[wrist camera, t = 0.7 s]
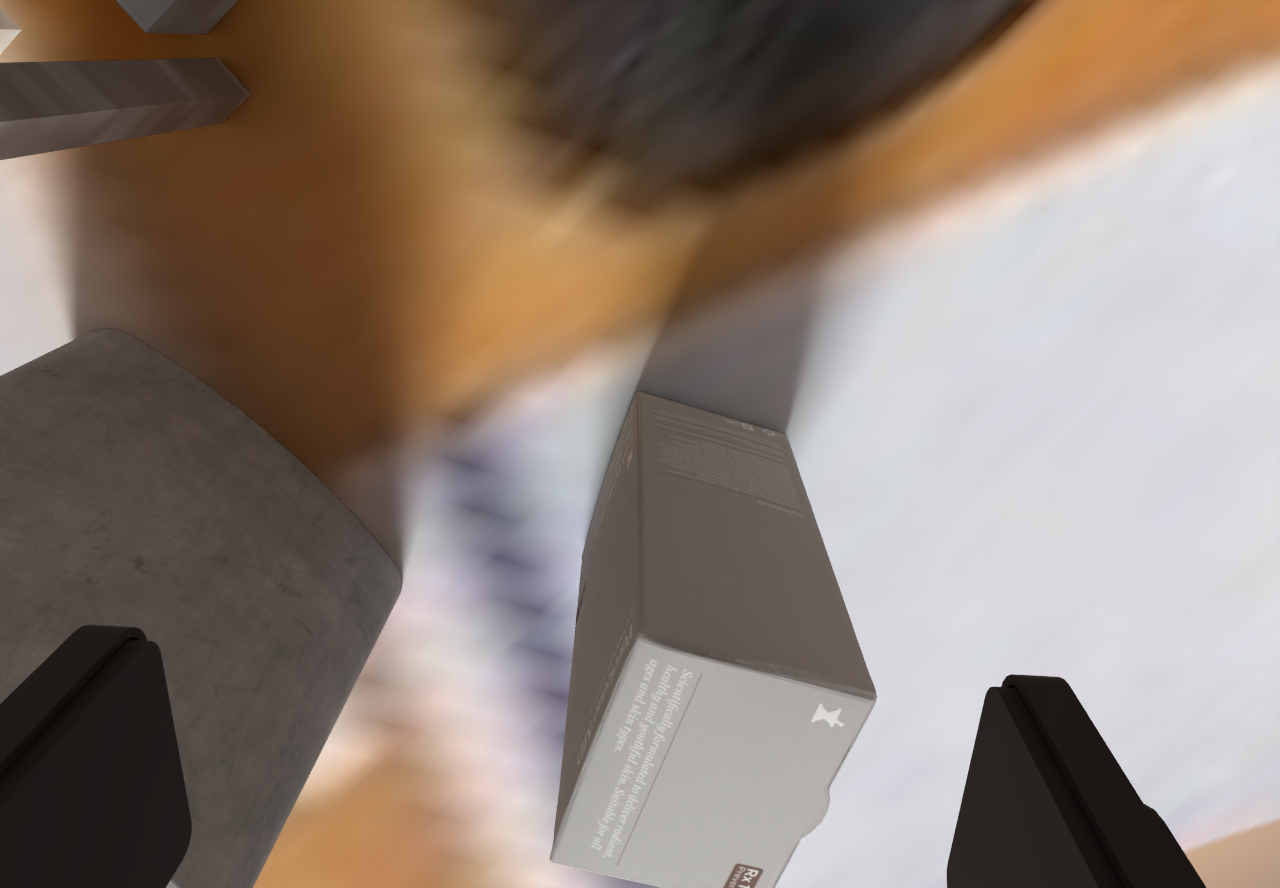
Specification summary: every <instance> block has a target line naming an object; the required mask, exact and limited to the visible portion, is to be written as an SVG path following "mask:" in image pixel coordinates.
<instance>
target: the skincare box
mask: <svg viewBox="0 0 1280 888" xmlns="http://www.w3.org/2000/svg"><path fill="white" fill-rule="evenodd" d="M876 698H877V696H876V690H875V687H874V684H873V682H872V679H871V677H870V675H869V672H868V669H867V666H866V663H865V661H864V658H863V655H862V652H861V649H860V646H859V643H858V641H857V638H856V635H855V632H854V629H853V626H852V623H851V620H850V617H849V614H848V611H847V609H846V606H845V603H844V600H843V597H842V594H841V591H840V588H839V586H838V583H837V580H836V577H835V574H834V571H833V569H832V566H831V563H830V560H829V557H828V554H827V551H826V548H825V545H824V542H823V540H822V537H821V534H820V531H819V528H818V525H817V523H816V520H815V517H814V514H813V511H812V508H811V505H810V502H809V499H808V496H807V493H806V490H805V487H804V484H803V482H802V479H801V476H800V473H799V470H798V467H797V464H796V461H795V458H794V456H793V452H792V449H791V447H790V444H789V441H788V438H787V435H785V434H783V433H780V432H777V431H773V430H769V429H766V428H762V427H759V426H756V425H752V424H749V423H745V422H742V421H739V420H735V419H732V418H728V417H725V416H721V415H718V414H714V413H711V412H707V411H704V410H701V409H697V408H694V407H691V406H688V405H684V404H681V403H678V402H674V401H671V400H667V399H664V398H660V397H657V396H653V395H650V394H647V393H643V392H636V394H635V396H634V398H633V401H632V404H631V406H630V409H629V411H628V414H627V417H626V419H625V422H624V425H623V427H622V430H621V433H620V436H619V438H618V441H617V444H616V447H615V450H614V453H613V456H612V458H611V461H610V464H609V467H608V470H607V473H606V476H605V479H604V482H603V485H602V488H601V491H600V494H599V497H598V501H597V504H596V507H595V511H594V514H593V518H592V521H591V525H590V528H589V532H588V536H587V539H586V543H585V547H584V550H583V555H582V566H581V575H580V585H579V598H578V608H577V616H576V627H575V639H574V649H573V658H572V668H571V678H570V688H569V698H568V708H567V718H566V728H565V739H564V749H563V760H562V769H561V779H560V788H559V796H558V805H557V813H556V821H555V830H554V840H553V847H552V851H551V856H550V861H551V862H552V863H555V864H560V865H564V866H568V867H572V868H576V869H580V870H585V871H589V872H594V873H598V874H603V875H607V876H612V877H616V878H621V879H625V880H630V881H635V882H639V883H644V884H648V885H653V886H657V887H661V888H775V887H776V885H777V883H778V881H779V880H780V878H781V876H782V874H783V872H784V870H785V868H786V867H787V865H788V863H789V861H790V859H791V857H792V855H793V853H794V851H795V849H796V848H797V846H798V844H799V842H800V840H801V838H803V837H804V836H806V835H808V834H809V833H811V832H812V831H813V830H814V829H815V828H816V827H817V826H818V825H819V824H820V823H821V822H822V820H823V818H824V817H825V815H826V813H827V810H828V806H829V801H830V795H829V787H830V785H831V784H832V782H833V780H834V779H835V777H836V775H837V774H838V772H839V770H840V768H841V766H842V765H843V763H844V761H845V759H846V757H847V755H848V754H849V752H850V750H851V748H852V746H853V744H854V742H855V741H856V739H857V737H858V735H859V733H860V731H861V729H862V727H863V726H864V724H865V722H866V720H867V718H868V716H869V714H870V712H871V711H872V709H873V707H874V705H875V702H876Z"/></svg>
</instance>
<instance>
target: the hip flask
mask: <svg viewBox="0 0 1280 888" xmlns="http://www.w3.org/2000/svg"><path fill="white" fill-rule="evenodd" d="M401 589H402V576H401V573H400V571H399V568H398V567H397V565H396V564H395V562H394V561H393V560H392V559H391V557H390V556H389V555H388V554H387V552H386V551H385V550H384V549H383V547H382V546H381V545H380V544H379V542H378V541H377V540H376V539H375V538H374V537H373V535H372V534H371V533H370V532H369V531H368V530H367V528H366V527H365V526H364V525H363V524H362V523H361V521H360V520H359V519H358V518H357V517H356V516H355V515H354V514H353V513H352V512H351V511H350V510H349V509H348V508H347V506H346V505H345V504H344V503H343V502H342V501H341V500H340V499H339V498H338V497H337V496H336V495H335V494H334V493H333V492H332V491H331V490H330V489H329V488H328V487H327V486H326V485H325V484H324V483H323V482H322V481H321V480H320V479H319V478H318V477H317V476H316V475H314V474H313V473H312V472H311V471H310V470H309V469H308V468H307V467H306V466H305V465H304V464H303V463H302V462H301V461H299V460H298V459H297V458H296V457H295V456H294V455H293V454H292V453H290V452H289V451H288V450H287V449H286V448H285V447H284V446H283V445H281V444H280V443H279V442H278V441H277V440H276V439H274V438H273V437H272V436H271V435H270V434H269V433H267V432H266V431H265V430H264V429H263V428H262V427H260V426H259V425H258V424H257V423H256V422H254V421H253V420H252V419H251V418H249V417H248V416H247V415H246V414H244V413H243V412H242V411H241V410H239V409H238V408H237V407H236V406H234V405H233V404H232V403H230V402H229V401H228V400H226V399H225V398H224V397H222V396H221V395H220V394H218V393H217V392H216V391H214V390H213V389H212V388H210V387H209V386H208V385H206V384H205V383H203V382H202V381H201V380H199V379H198V378H196V377H195V376H194V375H192V374H191V373H189V372H188V371H186V370H185V369H184V368H182V367H180V366H179V365H177V364H176V363H174V362H173V361H171V360H170V359H168V358H167V357H165V356H164V355H162V354H161V353H159V352H157V351H156V350H154V349H153V348H151V347H149V346H148V345H146V344H144V343H143V342H141V341H139V340H138V339H136V338H135V337H133V336H131V335H129V334H127V333H125V332H123V331H119V330H116V329H98V330H95V331H92V332H90V333H88V334H86V335H84V336H82V337H80V338H78V339H76V340H73V341H71V342H69V343H67V344H65V345H63V346H61V347H59V348H57V349H55V350H53V351H51V352H49V353H47V354H45V355H43V356H41V357H39V358H37V359H34V360H32V361H30V362H28V363H26V364H24V365H22V366H20V367H18V368H16V369H14V370H12V371H10V372H8V373H6V374H4V375H2V376H0V704H1V703H2V702H3V701H4V700H5V699H6V698H7V697H8V696H9V695H10V694H11V693H12V692H13V691H14V690H15V689H16V688H17V687H18V686H19V685H20V684H21V683H22V682H23V681H24V680H25V679H26V678H27V677H28V676H29V675H30V674H31V673H32V672H33V671H34V670H36V669H37V668H38V667H39V666H40V665H41V664H42V663H43V662H44V661H45V660H46V659H47V658H48V657H49V656H50V655H51V654H52V653H53V652H54V651H55V650H56V649H57V648H58V647H59V646H60V645H61V644H62V643H63V642H64V641H65V640H66V639H67V638H68V637H69V636H70V635H71V634H72V633H73V632H74V631H76V630H77V629H79V628H80V627H81V626H84V625H106V626H124V627H137V628H139V629H141V630H142V631H143V632H144V634H145V635H146V638H147V641H153V642H156V643H157V645H158V646H159V648H160V651H161V655H162V661H163V666H164V672H165V677H166V683H167V688H168V694H169V699H170V705H171V710H172V716H173V721H174V727H175V732H176V738H177V743H178V749H179V754H180V760H181V765H182V771H183V776H184V782H185V787H186V793H187V798H188V804H189V809H190V815H191V821H192V832H191V839H190V843H189V847H188V849H187V852H186V854H185V856H184V858H183V860H182V862H181V864H180V865H179V867H178V868H177V870H176V872H175V873H174V875H173V877H172V878H171V880H170V882H169V883H168V885H167V887H166V888H253V886H254V884H255V882H256V880H257V878H258V876H259V874H260V872H261V870H262V868H263V866H264V864H265V862H266V860H267V858H268V856H269V854H270V852H271V850H272V848H273V846H274V844H275V842H276V840H277V838H278V836H279V834H280V832H281V830H282V828H283V826H284V824H285V822H286V820H287V818H288V816H289V814H290V812H291V810H292V808H293V806H294V804H295V802H296V800H297V798H298V796H299V795H300V793H301V791H302V789H303V787H304V785H305V783H306V781H307V779H308V777H309V775H310V773H311V771H312V769H313V767H314V765H315V763H316V761H317V759H318V757H319V755H320V753H321V751H322V749H323V747H324V745H325V743H326V741H327V739H328V737H329V735H330V733H331V731H332V729H333V727H334V725H335V723H336V721H337V719H338V717H339V715H340V713H341V711H342V709H343V707H344V705H345V703H346V701H347V699H348V697H349V695H350V693H351V691H352V689H353V687H354V685H355V683H356V681H357V679H358V677H359V675H360V673H361V671H362V669H363V667H364V665H365V663H366V661H367V659H368V657H369V655H370V653H371V651H372V649H373V647H374V645H375V643H376V641H377V639H378V637H379V635H380V633H381V631H382V629H383V627H384V625H385V623H386V621H387V619H388V617H389V615H390V613H391V611H392V609H393V607H394V605H395V603H396V601H397V599H398V597H399V595H400V592H401Z"/></svg>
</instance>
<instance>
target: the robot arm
mask: <svg viewBox="0 0 1280 888" xmlns="http://www.w3.org/2000/svg"><path fill="white" fill-rule="evenodd" d="M191 832H192V821H191V815H190V809H189V804H188V798H187V793H186V787H185V782H184V776H183V771H182V765H181V760H180V754H179V749H178V743H177V738H176V732H175V727H174V721H173V716H172V710H171V705H170V699H169V694H168V688H167V683H166V677H165V672H164V666H163V661H162V655H161V651H160V648H159V646H158V645H157V643H156V642H153V641H147V638H146V635H145V634H144V632H143V631H142V630H141V629H139V628H137V627H124V626H106V625H84V626H81V627H80V628H79V629H77V630H76V631H74V632H73V633H72V634H71V635H70V636H69V637H68V638H67V639H66V640H65V641H64V642H63V643H62V644H61V645H60V646H59V647H58V648H57V649H56V650H55V651H54V652H53V653H52V654H51V655H50V656H49V657H48V658H47V659H46V660H45V661H44V662H43V663H42V664H41V665H40V666H39V667H38V668H37V669H36V670H34V671H33V672H32V673H31V674H30V675H29V676H28V677H27V678H26V679H25V680H24V681H23V682H22V683H21V684H20V685H19V686H18V687H17V688H16V689H15V690H14V691H13V692H12V693H11V694H10V695H9V696H8V697H7V698H6V699H5V700H4V701H3V702H2V703H1V704H0V888H166V887H167V885H168V883H169V882H170V880H171V878H172V877H173V875H174V873H175V872H176V870H177V868H178V867H179V865H180V864H181V862H182V860H183V858H184V856H185V854H186V852H187V849H188V847H189V843H190V839H191ZM947 888H1206V887H1205V885H1204V883H1203V882H1202V880H1201V878H1200V877H1199V876H1198V874H1197V872H1196V871H1195V869H1194V868H1193V866H1192V864H1191V863H1190V861H1189V860H1188V859H1187V857H1186V855H1185V853H1184V852H1183V850H1182V849H1181V847H1180V846H1179V844H1178V842H1177V841H1176V839H1175V838H1174V836H1173V835H1172V833H1171V831H1170V830H1169V828H1168V827H1167V825H1166V824H1165V822H1164V821H1163V820H1162V818H1161V817H1160V816H1159V815H1158V814H1157V812H1156V811H1155V810H1154V809H1152V808H1150V807H1149V806H1147V805H1145V804H1143V802H1142V801H1141V799H1140V797H1139V796H1138V794H1137V793H1136V791H1135V789H1134V788H1133V786H1132V785H1131V783H1130V781H1129V780H1128V778H1127V777H1126V775H1125V773H1124V772H1123V770H1122V769H1121V767H1120V766H1119V764H1118V762H1117V761H1116V759H1115V758H1114V756H1113V754H1112V753H1111V751H1110V750H1109V748H1108V746H1107V745H1106V743H1105V742H1104V740H1103V738H1102V737H1101V735H1100V734H1099V732H1098V730H1097V729H1096V727H1095V726H1094V724H1093V722H1092V721H1091V719H1090V718H1089V716H1088V714H1087V713H1086V711H1085V710H1084V708H1083V706H1082V705H1081V703H1080V702H1079V700H1078V698H1077V697H1076V695H1075V694H1074V692H1073V690H1072V689H1071V687H1070V686H1069V684H1068V683H1067V682H1066V681H1065V680H1064V679H1062V678H1060V677H1048V676H1030V675H1009V676H1007V677H1006V678H1005V680H1004V681H1003V683H1002V687H991V688H989V690H988V691H987V693H986V696H985V700H984V705H983V709H982V713H981V718H980V722H979V727H978V731H977V736H976V740H975V745H974V749H973V754H972V758H971V762H970V767H969V771H968V776H967V780H966V785H965V789H964V794H963V798H962V803H961V807H960V811H959V816H958V820H957V825H956V829H955V834H954V838H953V843H952V847H951V852H950V856H949V860H948V866H947Z"/></svg>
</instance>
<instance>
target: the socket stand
mask: <svg viewBox="0 0 1280 888" xmlns="http://www.w3.org/2000/svg"><path fill="white" fill-rule="evenodd" d="M116 1H117V2H118V3H119V4H120V5H121V7H122V8H123V9H124V10H125V11H126V12H127V13H128V14H129V15H130V16H131V17H132V19H133V20H134V21H135V22H136V23H137V24H138V25H139V26H140V27H141V28H142V30H143V31H144V32H145V33H174V34H207V33H208V32H209V31H210V30H211V29H212V28H213V27H214V26H215V25H216V24H217V23H218V22H219V20H220V19H221V18H222V17H223V16H224V15H225V14H226V13H227V12H228V11H229V10H230V9H231V8H232V7H233V6H234V5H235V4H236V3H237V2H238V1H239V0H116ZM21 30H22V29H21V28H20V27H19V26H18V25H17V24H16V23H15V22H14V21H13V20H12V19H11V18H10V17H9V16H8V15H7V14H6V13H5V12H4V11H3V10H2V8H1V7H0V54H1V53H2V52H3V51H4V49H5V48H6V47H7V46H8V45H9V44H10V43H11V41H12V40H13V39H14V38H15V37H16V36H17V35H18V34H19V32H20V31H21ZM250 95H251V94H250V93H249V92H248V91H247V90H246V89H245V88H244V87H243V85H242V84H241V83H240V82H239V81H238V80H237V79H236V78H235V76H234V75H233V74H232V73H231V72H230V71H229V70H228V69H227V68H226V66H225V65H224V64H223V63H222V62H221V61H220V60H219V59H218V58H198V59H153V60H107V61H62V62H16V63H0V160H4V159H10V158H16V157H22V156H28V155H34V154H40V153H46V152H52V151H58V150H64V149H70V148H76V147H82V146H88V145H94V144H100V143H106V142H112V141H118V140H124V139H130V138H136V137H142V136H148V135H154V134H160V133H166V132H172V131H178V130H184V129H190V128H196V127H202V126H208V125H214V124H220V123H223V122H224V121H225V120H226V119H227V118H228V117H229V116H230V115H231V114H232V113H233V112H234V111H235V110H236V109H237V108H238V107H239V106H240V105H241V104H242V103H243V102H244V101H245V100H246V99H247V98H248V97H249V96H250Z"/></svg>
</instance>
